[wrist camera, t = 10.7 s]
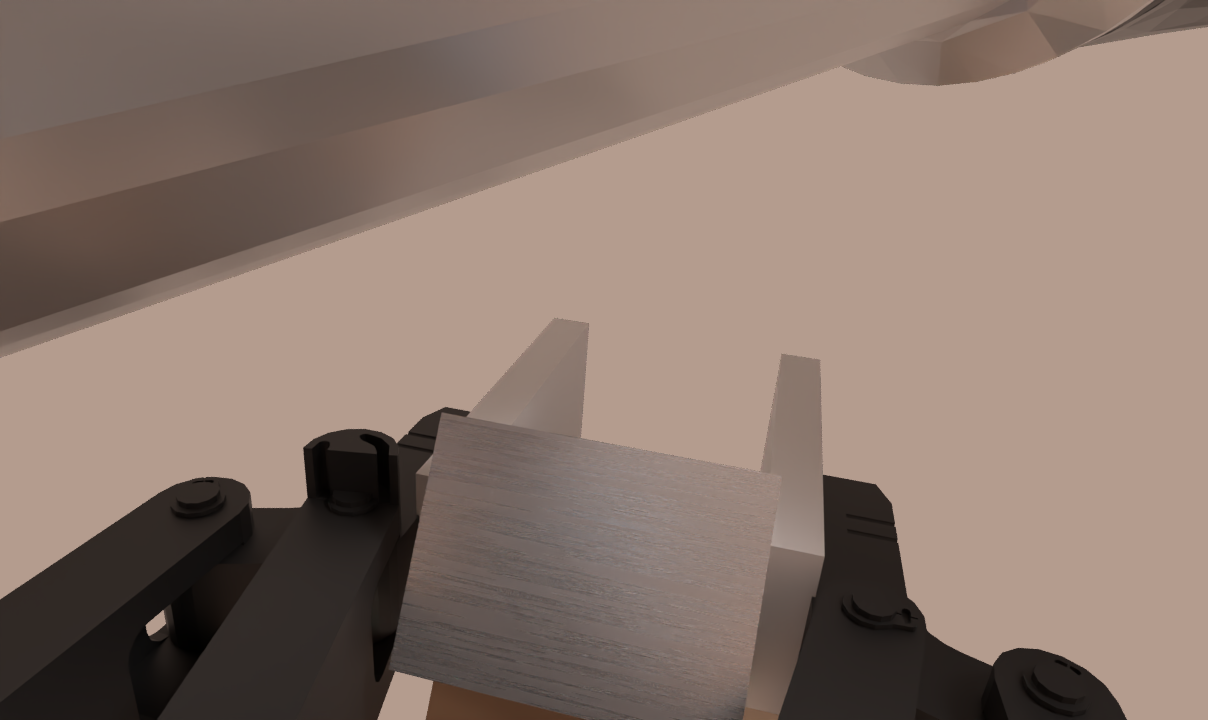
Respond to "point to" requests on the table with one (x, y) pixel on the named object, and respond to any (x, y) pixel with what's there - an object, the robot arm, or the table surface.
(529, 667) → the grey block
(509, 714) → the stand
